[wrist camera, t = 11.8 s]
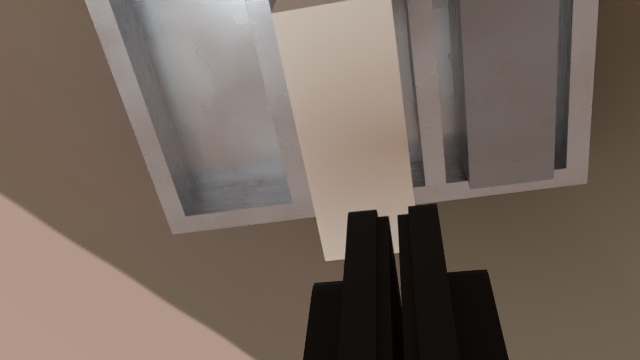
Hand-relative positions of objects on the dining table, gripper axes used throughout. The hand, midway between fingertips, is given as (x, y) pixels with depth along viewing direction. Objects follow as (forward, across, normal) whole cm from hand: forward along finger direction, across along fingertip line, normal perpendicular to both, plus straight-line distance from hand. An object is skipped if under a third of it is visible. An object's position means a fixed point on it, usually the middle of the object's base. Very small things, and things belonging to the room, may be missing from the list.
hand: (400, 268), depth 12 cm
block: (+13, +2, 0) cm, 13 cm away
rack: (+13, +2, +1) cm, 14 cm away
